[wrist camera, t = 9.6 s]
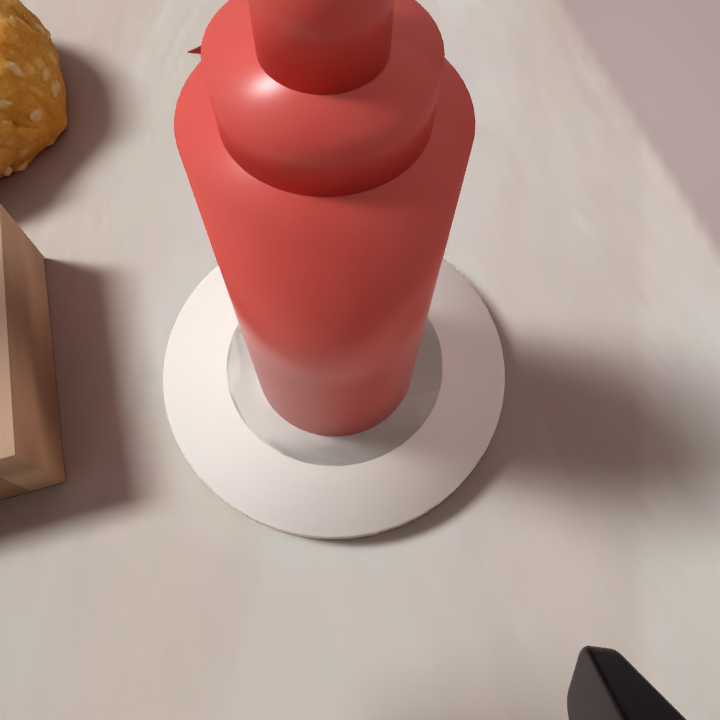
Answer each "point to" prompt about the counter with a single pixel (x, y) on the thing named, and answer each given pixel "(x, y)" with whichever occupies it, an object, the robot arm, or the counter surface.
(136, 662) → the counter surface
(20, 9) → the bagel
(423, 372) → the saucer
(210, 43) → the ketchup bottle
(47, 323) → the tray
